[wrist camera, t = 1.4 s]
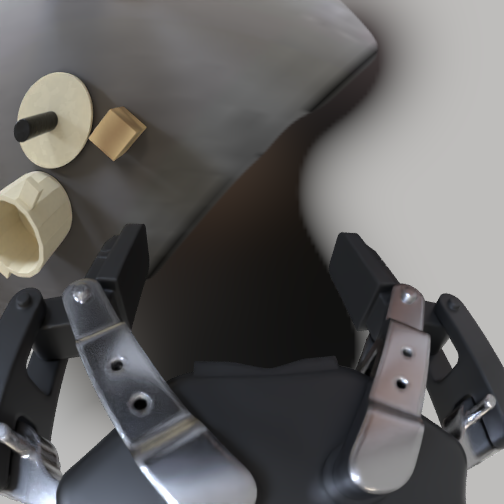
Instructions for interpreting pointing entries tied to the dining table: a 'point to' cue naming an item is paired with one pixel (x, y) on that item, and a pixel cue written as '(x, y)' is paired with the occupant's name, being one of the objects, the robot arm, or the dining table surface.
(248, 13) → the dining table surface
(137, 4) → the dining table surface
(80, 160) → the dining table surface
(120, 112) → the block
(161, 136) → the dining table surface
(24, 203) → the pot
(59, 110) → the lid
